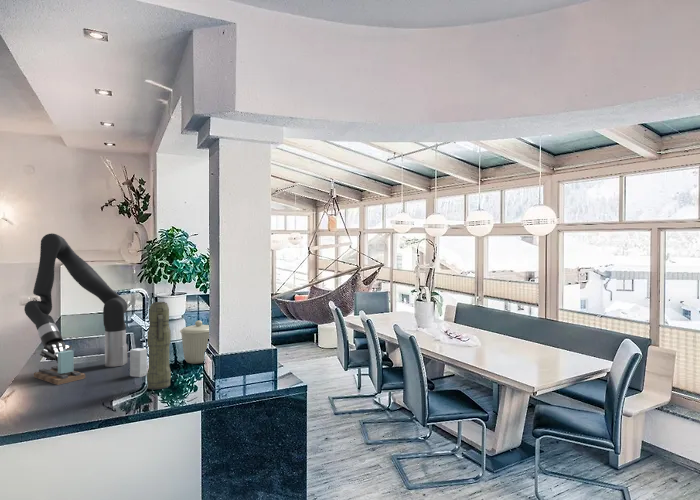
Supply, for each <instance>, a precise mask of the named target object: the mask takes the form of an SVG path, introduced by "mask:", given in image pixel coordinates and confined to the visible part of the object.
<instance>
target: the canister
mask: <svg viewBox="0 0 700 500" xmlns="http://www.w3.org/2000/svg"><path fill="white" fill-rule="evenodd" d="M209 325H210V324H203V321H202V320H201V319H200V320H196V321H195V322H194V325H193V324H192V325H187V326H185V327H183V328H182V329H180V330H179V333H180V334H181V342H182V344H181V345H182V352H183V357H184V361H186V363H187V364H192V365H194V364H195V365H197V364H204V363H203V361H204V352H205V351H206V349H207V343H208V339H209Z"/></svg>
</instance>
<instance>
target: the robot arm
mask: <svg viewBox="0 0 700 500" xmlns="http://www.w3.org/2000/svg"><path fill="white" fill-rule="evenodd" d="M39 251H40V254H39V262H38V263H39V264H38V268H37V275H36V279H35V282H34V287H33V292H32V293H33V294H34V295H35V296H37V297H39V299H40V300H30V301H28V302H26V303H25V305H24V314H25V315H26V316H27V318H28V319H29V320H30V321H31V322H32V323H33V324H34V325H35V327H36V330H37V332H38V336H39V339H40V341H41V343H42V345H43V346H42V347H43V349H42V350H41V352H40V353H39V355H40V356H41V357H43V358H45V359H47V360H49V361H51V362H53V361H55V362H56V364H57V365H58V352H62V351H68V350H72V348H73V345H71V344H70V345H67V344H66V343H65V342H64V340H63V336H62V335H61V332H60V330H59V328H58V326H57V324H56V323H55V320H54V319H53V317H52V316H51V315H50V313H52V310H53V300H52V290H53V287H54V286H53V285H54V282H55V268H56V267H55V264H56V261H57V260H58V261H59V262H61V264H63V266H64V267H65V269H66V270H67V272H68V273H69V275H70V276H71V277H72V279H73V280H74V281H75V282H76V283H77V284H79V286H81V288H83V289H84V290H86V291H87V292H89V293H91V294H92V295H93V296H95V297H96V298H98V299H99V300H100V301H101V302H102V303H103V307H102V308H103V310H102V311H103V312H102V316H103V326H104V366H105V367H107V368H109V367H110V368H114V367H121V366H122V367H123V366H125V365H126V364H128V343H127V334H126V333H127V325H126V322H125V313H126V312H127V311H128V303H127V301H126V300H125V299H124V298H123V297H122V296H120V295H119V294H118V293H117V292H115V290H114V289H112V288H111V287H110V285H108V284H107V282H106V281H105V279H103V278H102V277H101V276H100V275H99V273H97V271H96V270H95V269H94V268H92V266H91V265H89V264H88V262H86V261H85V260H84V259H83V258H81V257H80V256H79V255H78V254H77V253H76V252H75V251H74V250H73V248H72V247H71V246H70V245H69V243H68V242H67V241H66V239H65V238H64V237H62V236H61V235H59V234H57V233H52V232H51V233H48V234H45V235H44V236H43V237H42V238H41V240H40V250H39ZM56 259H57V260H56Z"/></svg>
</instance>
